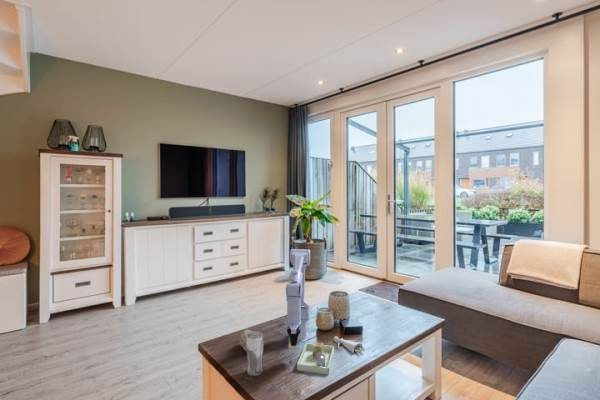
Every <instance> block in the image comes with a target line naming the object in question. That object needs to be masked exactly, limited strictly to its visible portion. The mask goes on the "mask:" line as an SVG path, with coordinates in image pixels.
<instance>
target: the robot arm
mask: <svg viewBox="0 0 600 400" xmlns="http://www.w3.org/2000/svg"><path fill="white" fill-rule="evenodd" d="M289 261H290V263H291V265H292V266H293V269H292V270H291V271H290V273H289V279H288V283H286V286H285V298H286V303H287V304H286V305H287V306H286V307H287V308H286V318H287V319H286V320H284V325H287V327H288V328H286V333H287V335H288V338H289V337H290V343H291V346H296V345H297V340H298V343H299V342H300V343H307V341H308V338H309V336H310V332H308V330H309V329H308V321H310V317H311V316H310V314H311V313H310V312H311V308H310V304H309V303H308V302H307V301H306V300H305V289H306V288H305V287H306V283H305V281H306V269H307V267H308V266H311V265H310V264H311V250H310V249H309V248H308V249H304V248H303V249H302V248H299V249H298V248H297V249H296V248H291V249H290V250H289Z"/></svg>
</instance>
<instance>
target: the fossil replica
mask: <svg viewBox="0 0 600 400" xmlns="http://www.w3.org/2000/svg"><path fill="white" fill-rule="evenodd" d="M250 332H254V331H252V330H249V329H245V330H244V331H243V332H242V333H241V334H240V336H239V345H240V347H242V348H243V350H244V351H245V352H246V338H247V334H248V333H250Z"/></svg>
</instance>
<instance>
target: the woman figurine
mask: <svg viewBox="0 0 600 400" xmlns="http://www.w3.org/2000/svg"><path fill="white" fill-rule="evenodd" d="M333 341H334V343H337V349H338V350H339V348H340V345H341V344H342V345H343V346H344V347H345V348H346V349H347V350H348V351H349V352H350V353H352V354H355V353H360V354H361V353H362V352H365V347H364V346H363V344H362V343H359V342H356V340H355V339H351V340H350V339H347V340H346V339H344V338H343V337H342V338H339V337H338V336H337V335H335V336H334V337H333ZM354 351H355V353H354Z"/></svg>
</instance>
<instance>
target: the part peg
mask: <svg viewBox="0 0 600 400" xmlns="http://www.w3.org/2000/svg"><path fill="white" fill-rule="evenodd" d="M315 366H321V367H325V355H324V354H317V355H316V356H315Z"/></svg>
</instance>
